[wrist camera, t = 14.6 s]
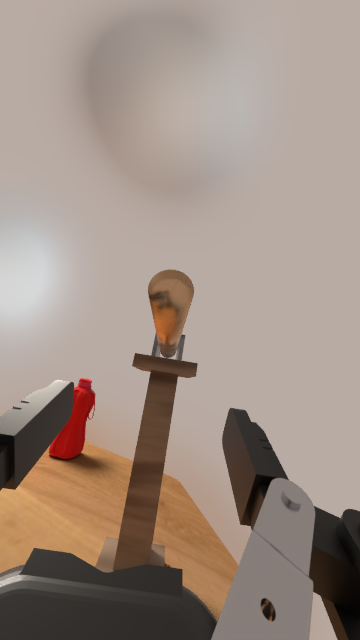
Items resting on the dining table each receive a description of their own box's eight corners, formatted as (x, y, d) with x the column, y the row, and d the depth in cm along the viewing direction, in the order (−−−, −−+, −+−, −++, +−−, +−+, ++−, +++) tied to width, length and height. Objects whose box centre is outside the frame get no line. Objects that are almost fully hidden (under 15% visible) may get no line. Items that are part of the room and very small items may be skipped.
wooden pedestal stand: (160, 649, 23) (197, 363, 33) (72, 636, 23) (135, 353, 32) (162, 560, 35) (189, 368, 44) (103, 551, 34) (143, 360, 44)
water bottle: (73, 463, 64) (95, 381, 72) (42, 455, 66) (67, 376, 73) (89, 454, 73) (107, 381, 80) (61, 448, 75) (81, 377, 82)
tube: (190, 315, 12) (196, 273, 13) (143, 307, 12) (153, 266, 13) (174, 359, 35) (177, 343, 36) (158, 356, 35) (161, 340, 36)
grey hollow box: (181, 360, 33) (185, 335, 34) (151, 355, 32) (156, 330, 34) (177, 366, 44) (180, 347, 45) (155, 362, 44) (159, 343, 45)
